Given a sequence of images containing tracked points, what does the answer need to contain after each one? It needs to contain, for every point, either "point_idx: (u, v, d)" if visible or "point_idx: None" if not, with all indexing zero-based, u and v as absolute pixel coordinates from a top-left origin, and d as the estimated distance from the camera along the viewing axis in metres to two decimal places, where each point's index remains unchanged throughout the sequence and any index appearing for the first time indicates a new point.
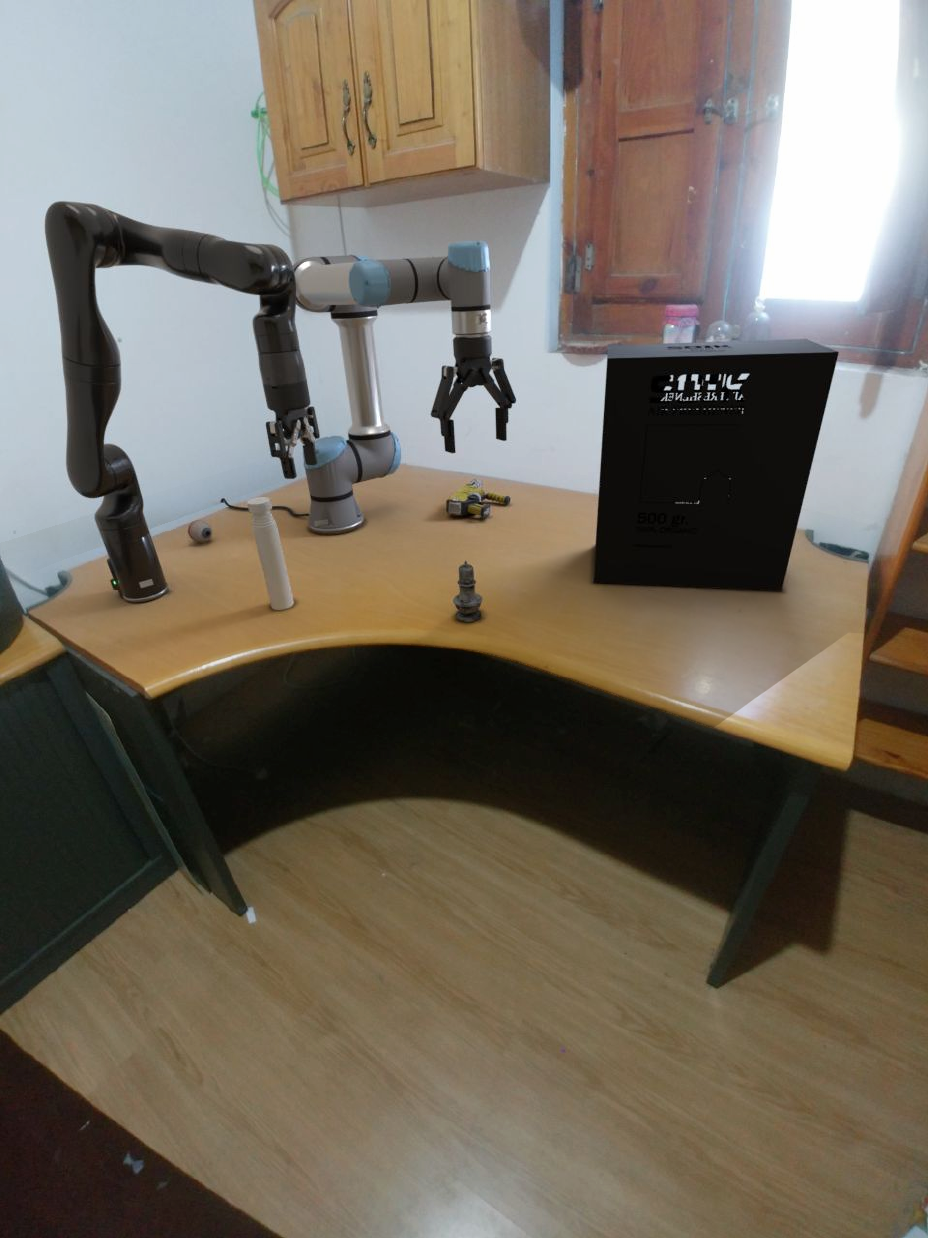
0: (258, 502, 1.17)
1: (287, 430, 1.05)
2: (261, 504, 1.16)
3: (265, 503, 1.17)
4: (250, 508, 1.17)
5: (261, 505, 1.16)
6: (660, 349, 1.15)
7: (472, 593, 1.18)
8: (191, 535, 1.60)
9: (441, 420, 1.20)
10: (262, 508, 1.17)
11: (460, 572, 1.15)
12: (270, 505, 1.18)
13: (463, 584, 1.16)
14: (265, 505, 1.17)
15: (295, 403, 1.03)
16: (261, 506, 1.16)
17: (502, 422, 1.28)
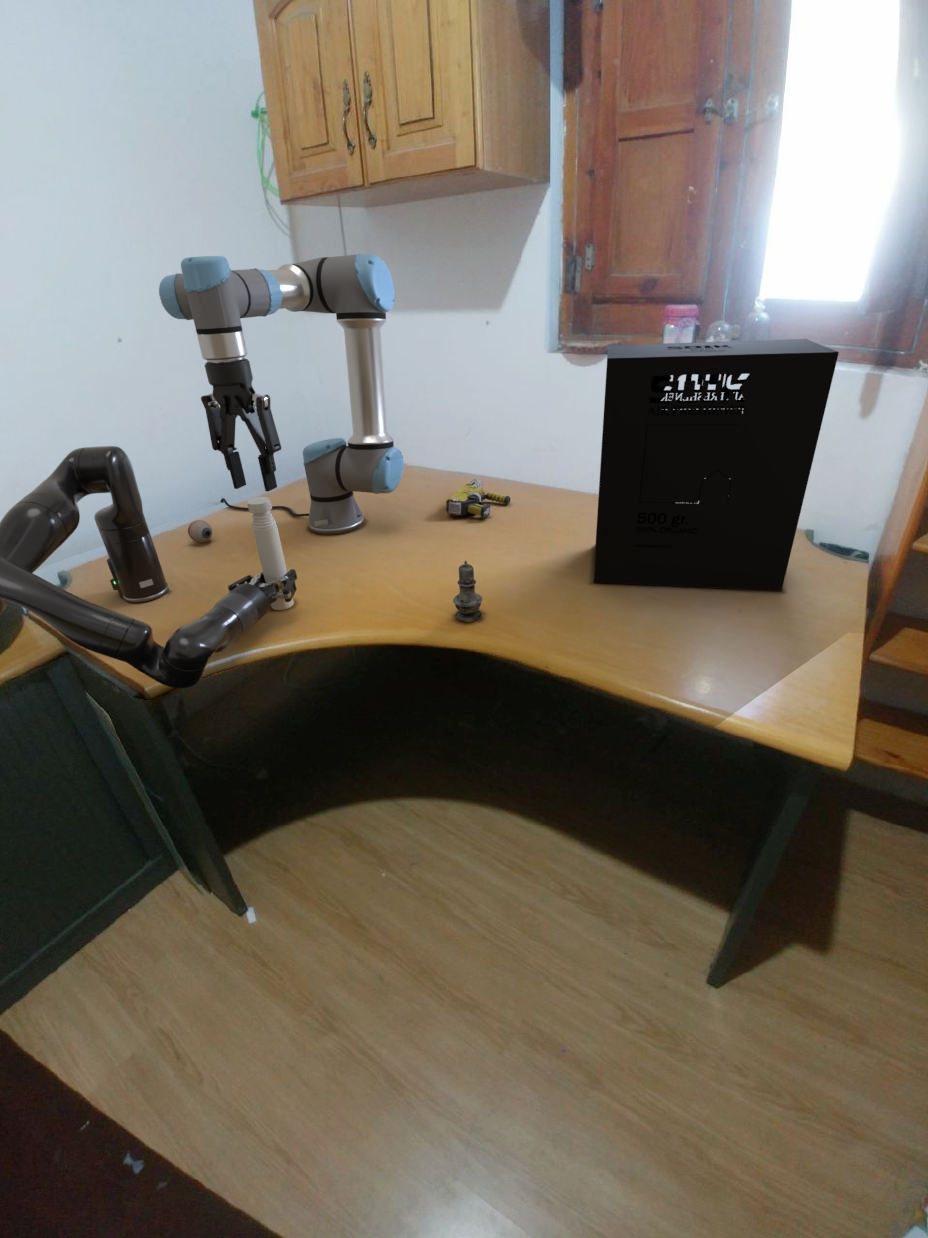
0: (258, 502, 1.17)
1: (275, 589, 1.20)
2: (261, 504, 1.16)
3: (265, 503, 1.17)
4: (250, 508, 1.17)
5: (261, 505, 1.16)
6: (660, 349, 1.15)
7: (472, 593, 1.18)
8: (191, 535, 1.60)
9: (271, 455, 1.12)
10: (262, 508, 1.17)
11: (460, 572, 1.15)
12: (270, 505, 1.18)
13: (463, 584, 1.16)
14: (265, 505, 1.17)
15: (257, 590, 1.15)
16: (261, 506, 1.16)
17: (240, 466, 1.17)
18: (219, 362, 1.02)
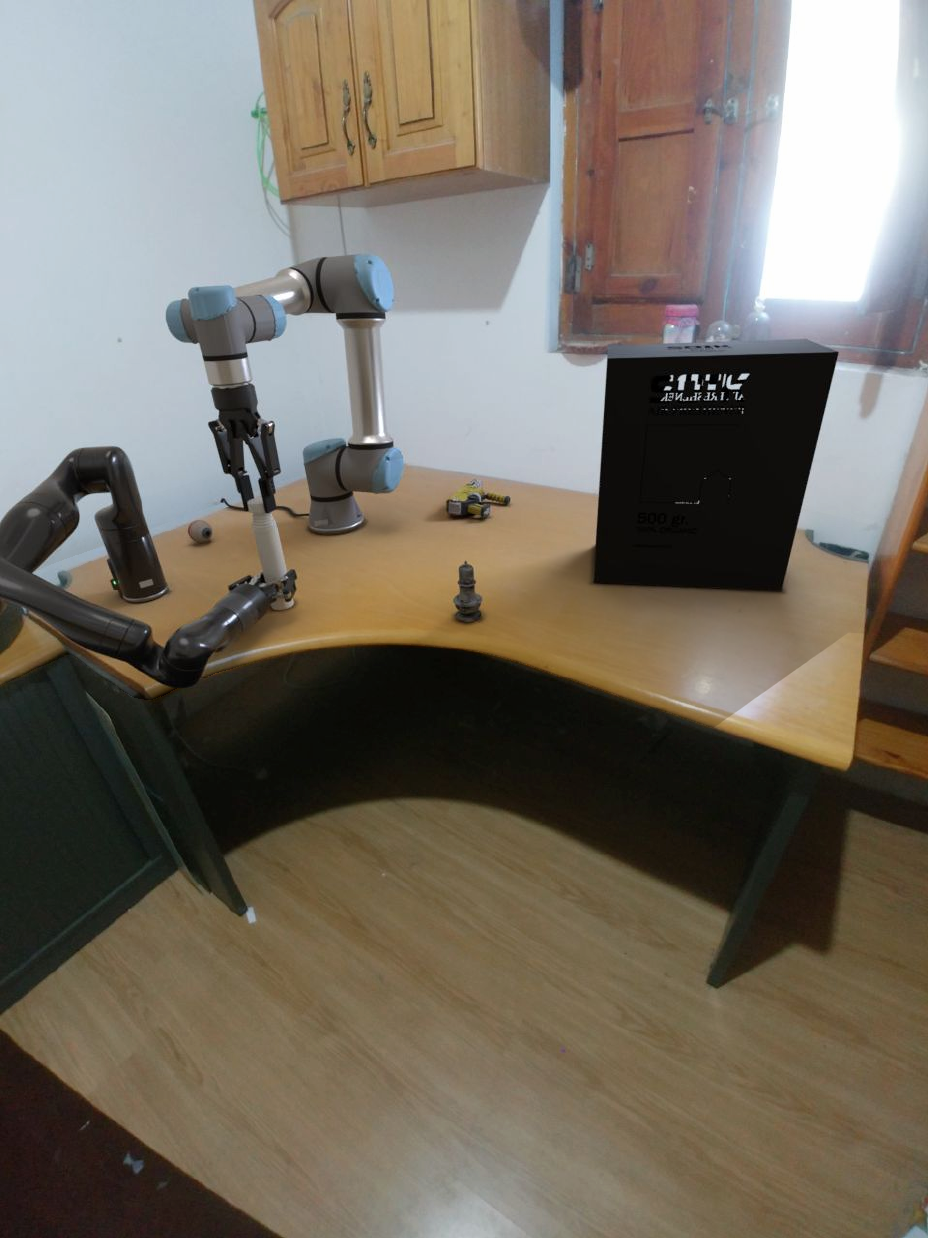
0: (258, 502, 1.17)
1: (275, 589, 1.20)
2: (261, 504, 1.16)
3: None
4: (250, 508, 1.17)
5: (261, 505, 1.16)
6: (660, 349, 1.15)
7: (472, 593, 1.18)
8: (191, 535, 1.60)
9: (271, 478, 1.14)
10: (262, 508, 1.17)
11: (460, 572, 1.15)
12: None
13: (463, 584, 1.16)
14: None
15: (257, 590, 1.15)
16: (261, 506, 1.16)
17: (250, 488, 1.18)
18: (225, 388, 1.04)
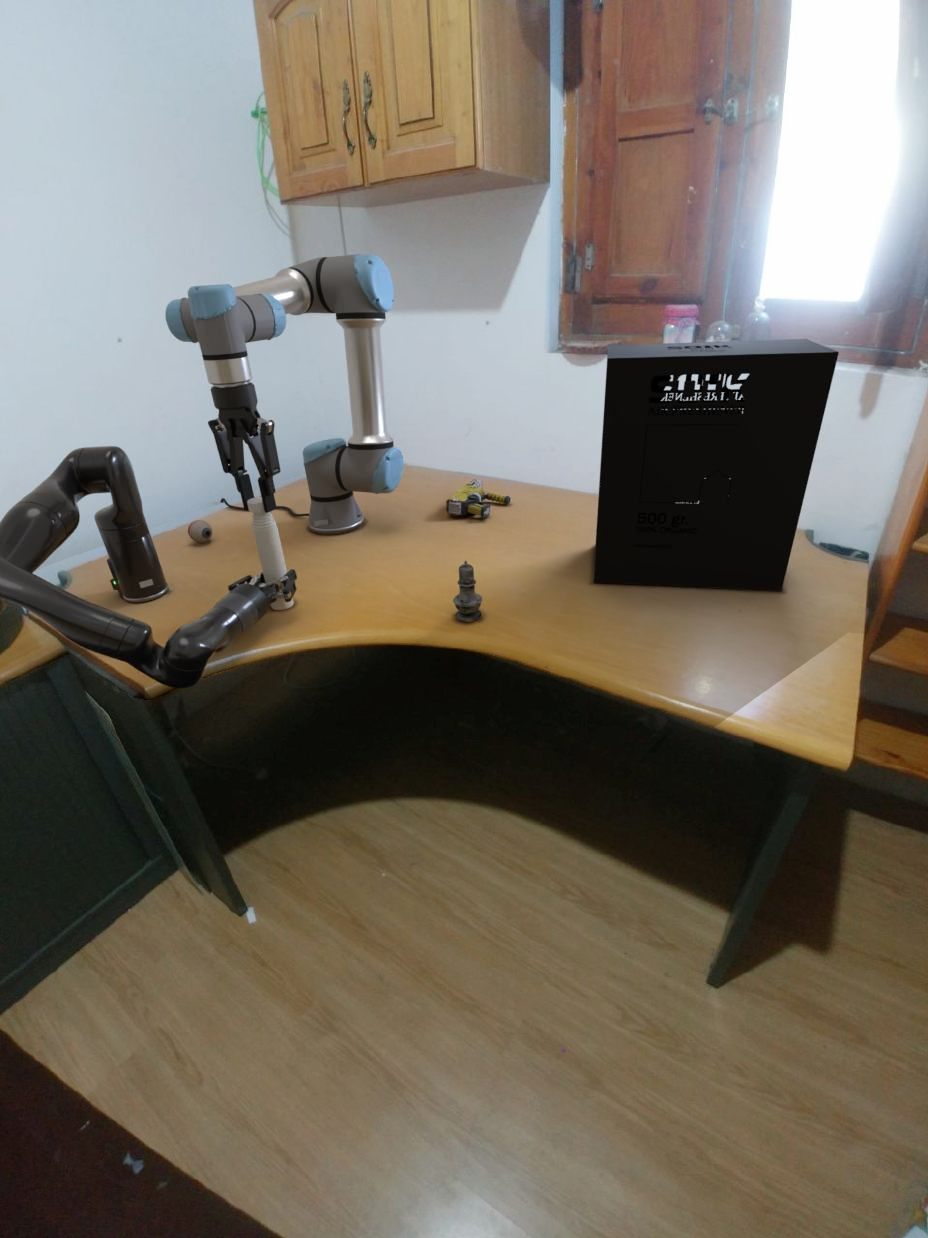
0: None
1: (275, 589, 1.20)
2: None
3: None
4: None
5: None
6: (660, 349, 1.15)
7: (472, 593, 1.18)
8: (191, 535, 1.60)
9: (270, 477, 1.14)
10: None
11: (460, 572, 1.15)
12: None
13: (463, 584, 1.16)
14: None
15: (257, 590, 1.15)
16: None
17: (250, 488, 1.18)
18: (225, 387, 1.04)
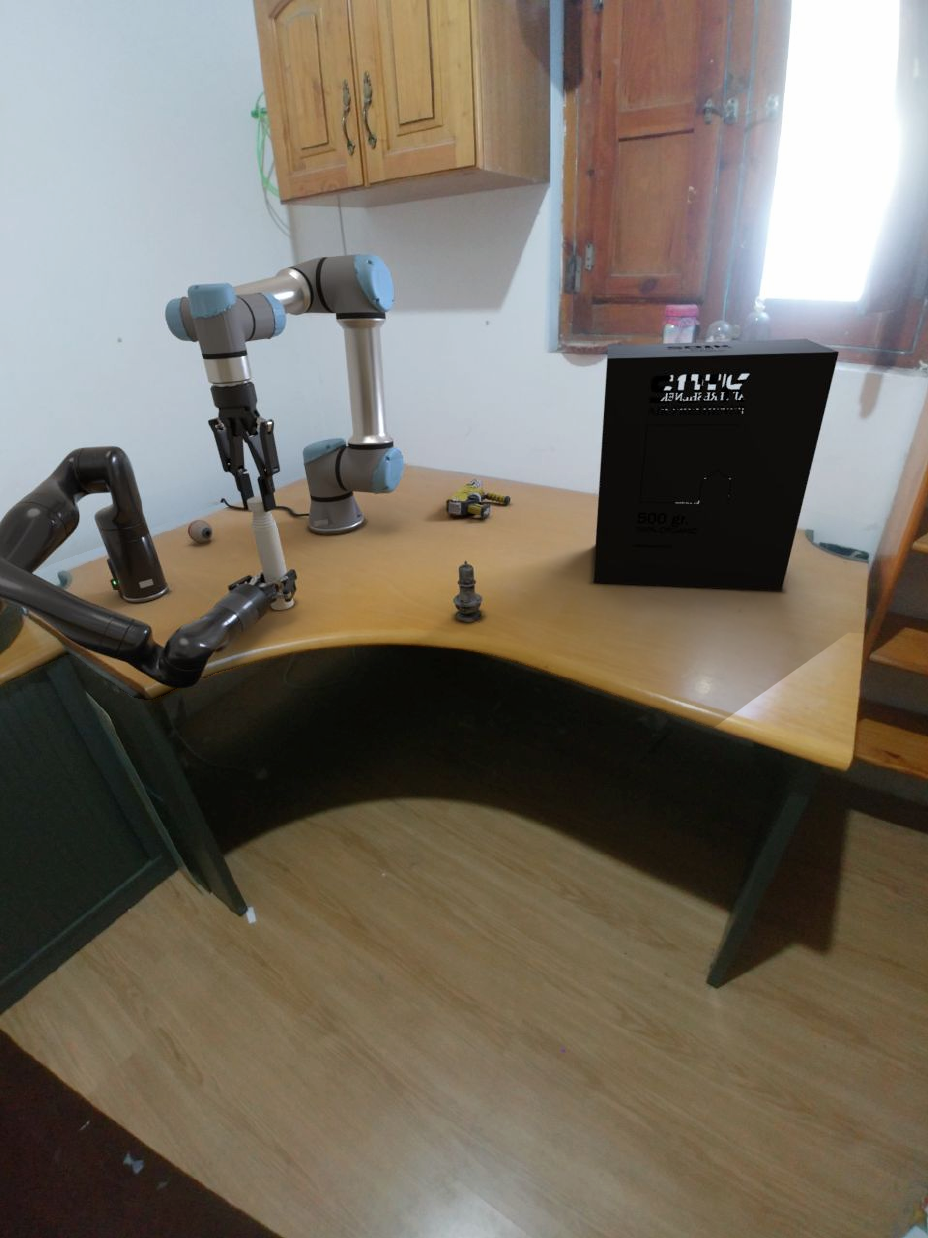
0: (252, 500, 1.17)
1: (275, 589, 1.20)
2: (248, 502, 1.17)
3: (250, 503, 1.16)
4: None
5: (248, 503, 1.17)
6: (660, 349, 1.15)
7: (472, 593, 1.18)
8: (191, 535, 1.60)
9: (270, 477, 1.14)
10: (249, 506, 1.17)
11: (460, 572, 1.15)
12: (258, 507, 1.16)
13: (463, 584, 1.16)
14: (250, 505, 1.16)
15: (257, 590, 1.15)
16: (248, 504, 1.17)
17: (250, 487, 1.18)
18: (224, 386, 1.04)
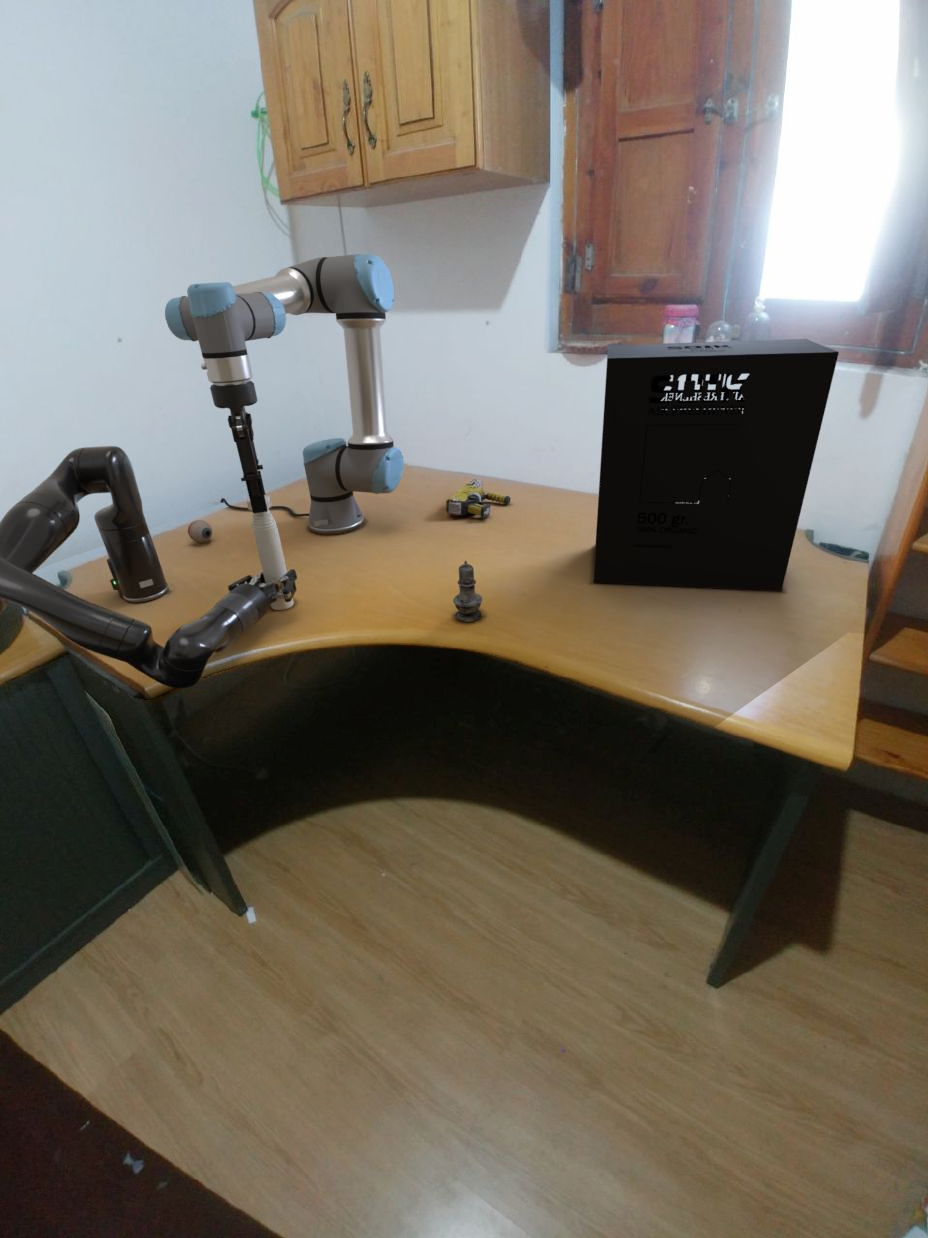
0: None
1: (275, 589, 1.20)
2: (268, 499, 1.17)
3: (269, 498, 1.18)
4: None
5: (268, 500, 1.17)
6: (660, 349, 1.15)
7: (472, 593, 1.18)
8: (191, 535, 1.60)
9: None
10: (269, 503, 1.18)
11: (460, 572, 1.15)
12: None
13: (463, 584, 1.16)
14: (270, 500, 1.18)
15: (257, 590, 1.15)
16: (268, 501, 1.18)
17: None
18: None
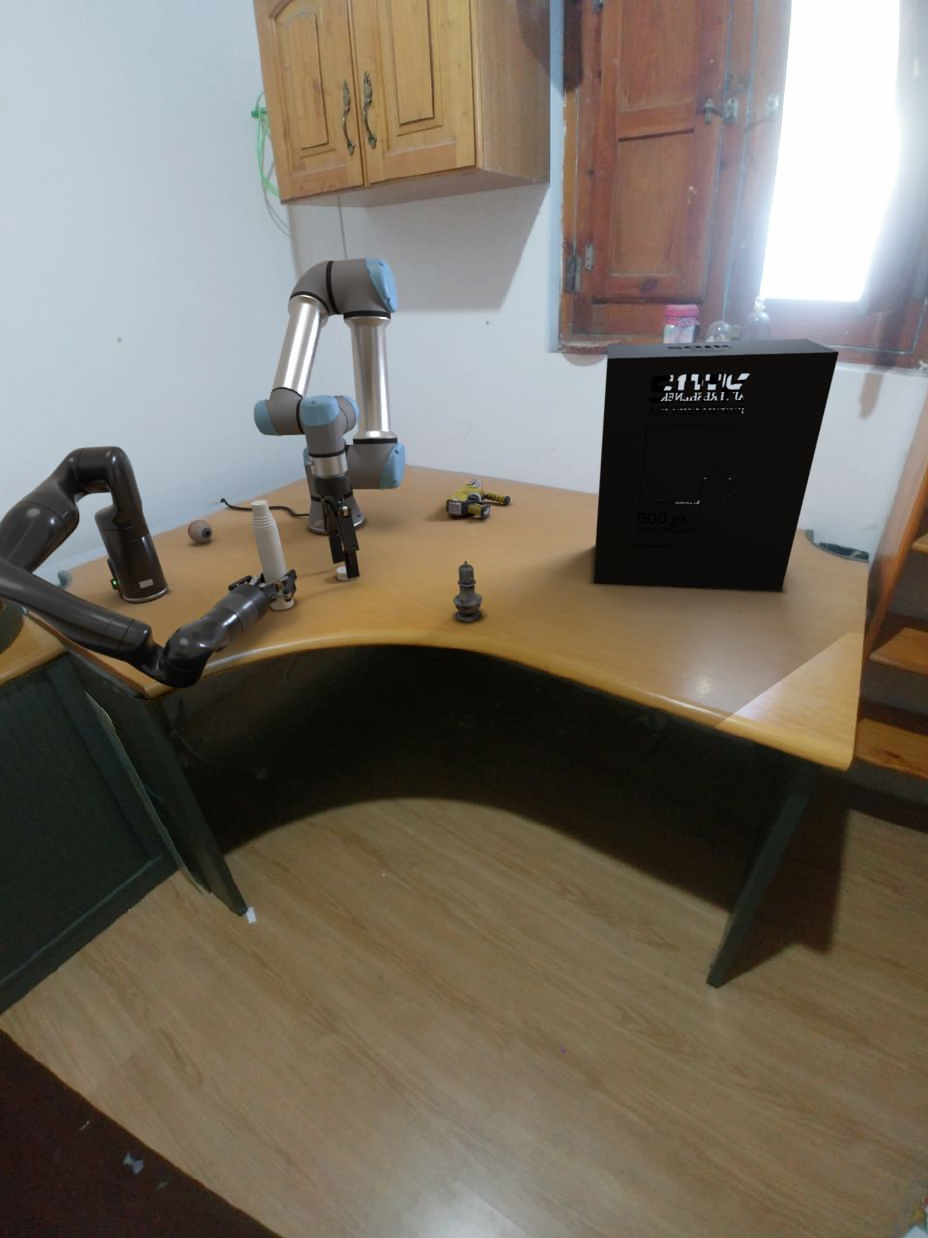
0: None
1: (275, 589, 1.20)
2: None
3: None
4: None
5: None
6: (660, 349, 1.15)
7: (472, 593, 1.18)
8: (191, 535, 1.60)
9: None
10: None
11: (460, 572, 1.15)
12: None
13: (463, 584, 1.16)
14: None
15: (257, 590, 1.15)
16: None
17: None
18: None
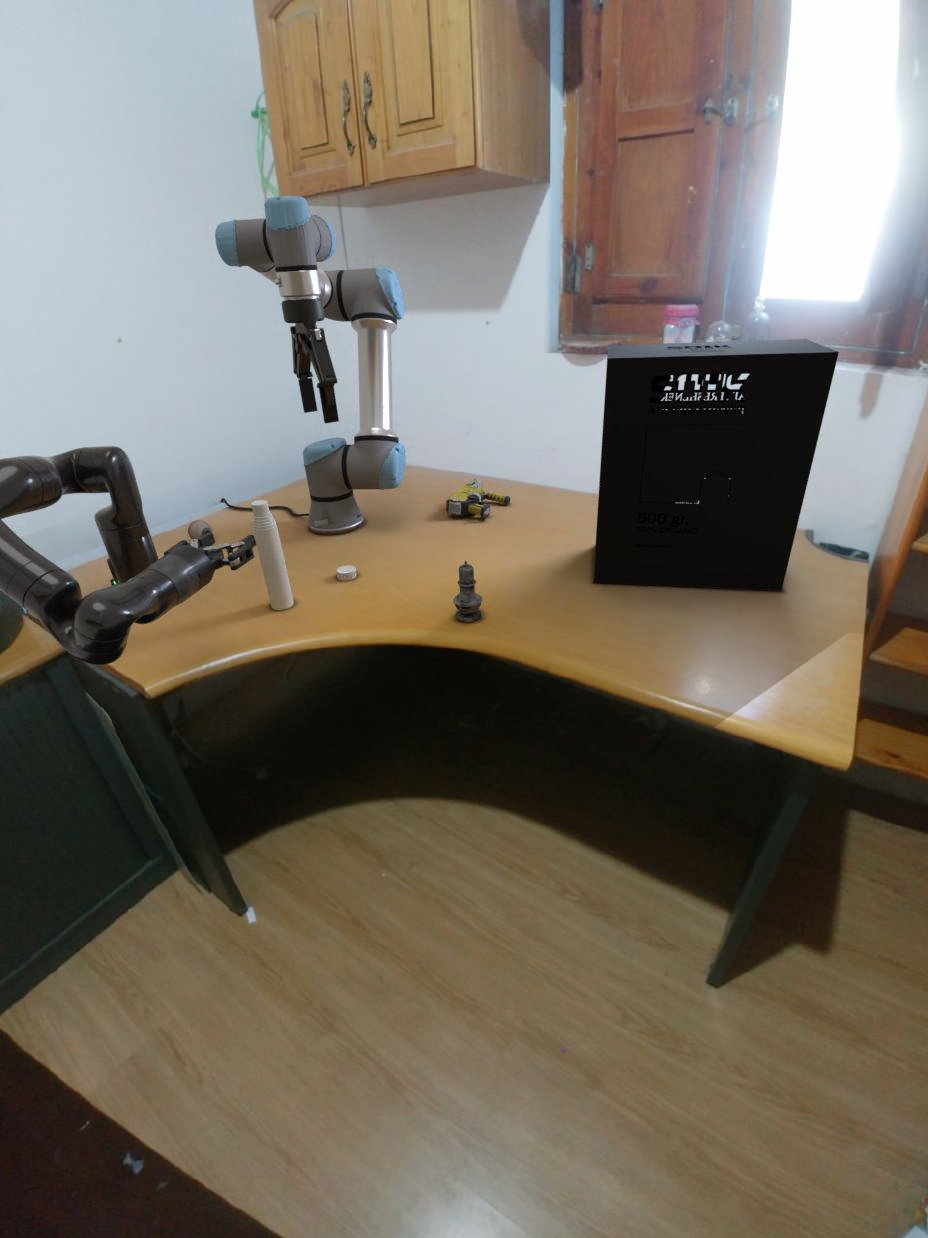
0: (350, 569, 1.39)
1: (222, 553, 1.03)
2: (355, 569, 1.39)
3: (354, 568, 1.40)
4: (349, 576, 1.38)
5: (355, 570, 1.39)
6: (660, 349, 1.15)
7: (472, 593, 1.18)
8: (191, 535, 1.60)
9: None
10: (355, 572, 1.40)
11: (460, 572, 1.15)
12: None
13: (463, 584, 1.16)
14: (355, 570, 1.40)
15: (198, 552, 0.98)
16: (355, 571, 1.40)
17: None
18: None
